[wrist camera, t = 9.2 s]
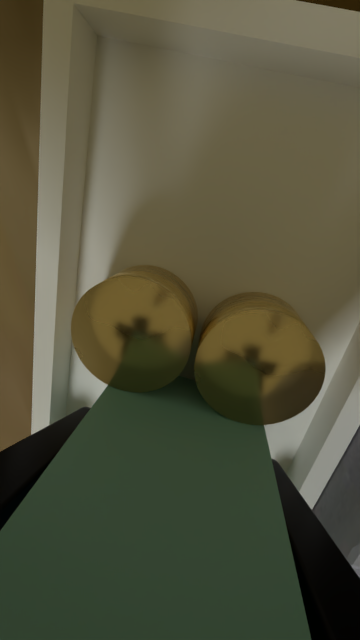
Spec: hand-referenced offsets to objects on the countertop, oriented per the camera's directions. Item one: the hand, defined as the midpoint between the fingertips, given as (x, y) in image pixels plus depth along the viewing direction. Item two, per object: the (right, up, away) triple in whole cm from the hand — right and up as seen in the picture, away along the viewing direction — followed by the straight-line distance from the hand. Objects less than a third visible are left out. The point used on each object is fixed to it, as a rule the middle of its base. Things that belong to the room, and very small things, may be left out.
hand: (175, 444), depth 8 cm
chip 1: (-1, +3, +1) cm, 4 cm away
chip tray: (+1, +4, +1) cm, 4 cm away
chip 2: (+2, +3, +1) cm, 4 cm away
